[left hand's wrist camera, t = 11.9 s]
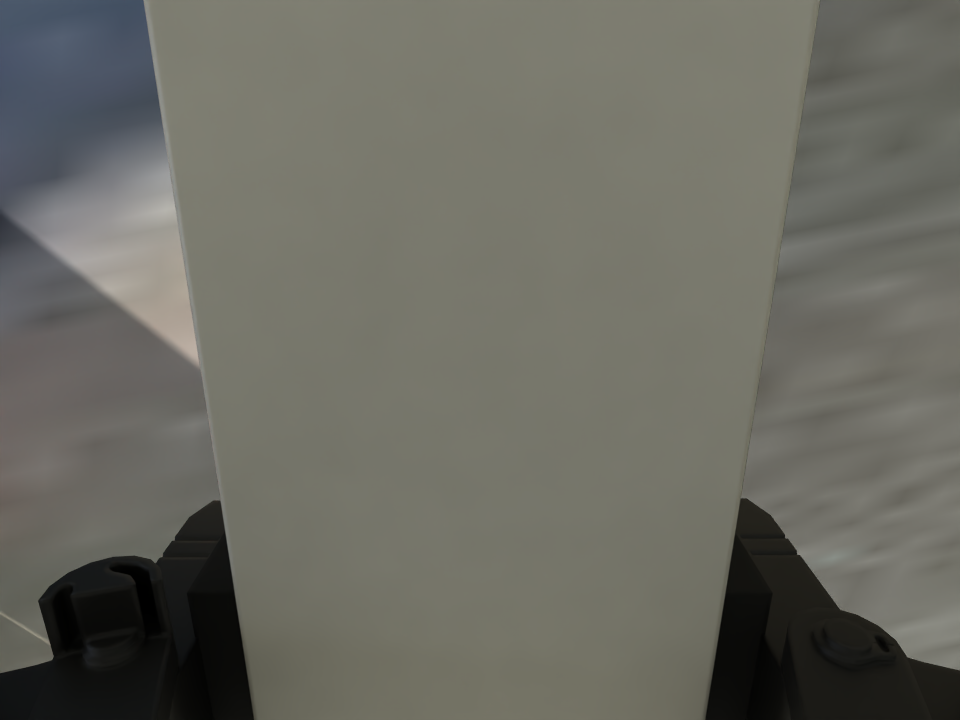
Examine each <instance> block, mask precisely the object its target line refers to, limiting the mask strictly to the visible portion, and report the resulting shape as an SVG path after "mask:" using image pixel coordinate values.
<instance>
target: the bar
mask: <svg viewBox="0 0 960 720" xmlns="http://www.w3.org/2000/svg"><path fill="white" fill-rule="evenodd" d="M144 5H145V12H146V18H147V25H148V31H149V38H150V44H151V51H152V57H153V64H154V70H155V77H156V83H157V90H158V96H159V103H160V109H161V116H162V122H163V129H164V135H165V142H166V148H167V155H168V161H169V168H170V175H171V181H172V188H173V194H174V201H175V207H176V214H177V220H178V227H179V233H180V240H181V246H182V253H183V259H184V266H185V272H186V279H187V285H188V292H189V298H190V305H191V311H192V318H193V324H194V331H195V337H196V344H197V350H198V357H199V363H200V370H201V376H202V383H203V389H204V396H205V402H206V409H207V415H208V422H209V428H210V435H211V441H212V448H213V454H214V461H215V467H216V474H217V480H218V487H219V493H220V500H221V506H222V513H223V519H224V526H225V533H226V539H227V546H228V552H229V559H230V565H231V572H232V578H233V585H234V591H235V598H236V604H237V611H238V617H239V624H240V630H241V637H242V643H243V650H244V656H245V663H246V669H247V676H248V682H249V689H250V695H251V702H252V708H253V715H254V720H705V717H706V711H707V705H708V699H709V692H710V686H711V680H712V674H713V667H714V661H715V655H716V649H717V642H718V636H719V630H720V624H721V617H722V611H723V605H724V599H725V592H726V586H727V580H728V574H729V567H730V561H731V555H732V549H733V542H734V536H735V530H736V524H737V517H738V511H739V505H740V499H741V492H742V486H743V480H744V474H745V467H746V461H747V455H748V449H749V442H750V436H751V430H752V424H753V417H754V411H755V405H756V399H757V392H758V386H759V380H760V374H761V367H762V361H763V355H764V349H765V342H766V336H767V330H768V324H769V317H770V311H771V305H772V299H773V292H774V286H775V280H776V274H777V267H778V261H779V255H780V249H781V242H782V236H783V230H784V224H785V217H786V211H787V205H788V199H789V192H790V186H791V180H792V174H793V167H794V161H795V155H796V149H797V142H798V136H799V130H800V124H801V117H802V111H803V105H804V99H805V92H806V86H807V80H808V74H809V67H810V61H811V55H812V49H813V42H814V36H815V30H816V24H817V17H818V11H819V5H820V0H144Z"/></svg>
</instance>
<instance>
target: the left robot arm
mask: <svg viewBox="0 0 960 720" xmlns="http://www.w3.org/2000/svg"><path fill="white" fill-rule="evenodd" d="M38 602H39V605H40V609H41V613H42V616H43V620H44V623H45V627H46V630H47V634H48V637H49V641H50V644H51V648H52V651H53V655H54V658H53V660H52V661H49V662H45V663H42V664H39V665H35V666H30V667H26V668H22V669H17V670H13V671H9V672H4V673H0V720H254V715H253V708H252V702H251V695H250V689H249V682H248V676H247V669H246V663H245V656H244V650H243V643H242V637H241V630H240V624H239V617H238V611H237V604H236V598H235V591H234V585H233V578H232V572H231V565H230V559H229V552H228V546H227V539H226V533H225V526H224V519H223V513H222V506H221V501H212V502H211V503H209V504H208V505H206V506H205V507H204V508H202V509H201V510H199V511H198V512H196V513H195V514H193V515H192V516H191V517H189V519H188V520H187V521H186V523H185V524H184V525H183V527H182V528H181V529H180V531H179V532H178V534H177V535H176V536H175V541H172V542H171V543H170V545H169V546H168V547H167V549H166V550H165V551H164V553H163V557H160V558H159V560H158V561H157V562H156V564H155V563H154V562H153V561H152V560H151V559H146V558H142V557H138V556H121V557H111V558H107V559H103V560H99V561H96V562H92V563H89V564H87V565H85V566H82V567H80V568H78V569H76V570H74V571H71V572H69V573H67V574H66V575H65V576H63V577H62V578H60V579H59V580H58V581H56V582H55V583H53V584H52V585H51V586H49V588H48V589H47V590H46V592H45V593H44V594H43V595H42V597H41V598H40V599H39V600H38ZM705 720H960V671H959V670H955V669H950V668H946V667H942V666H937V665H933V664H929V663H924V662H921V661H917V660H914V659H911V658H907V656H906V655H905V653H904V652H903V650H902V649H901V647H900V646H899V644H898V643H897V641H896V640H895V639H894V638H893V637H891V636H890V635H889V634H888V633H886V632H885V631H884V630H883V629H882V628H880V627H879V626H878V625H876V624H874V623H872V622H870V621H868V620H866V619H864V618H862V617H860V616H858V615H856V614H852V613H849V612H845V611H842V610H840V609H839V608H838V606H837V605H836V604H835V602H834V601H833V599H832V598H831V597H830V595H829V594H828V593H827V591H826V590H825V589H824V587H823V586H822V585H821V583H820V582H819V580H818V579H817V578H816V576H815V575H814V574H813V572H812V571H811V570H810V568H809V567H808V565H807V564H806V563H805V561H804V560H803V559H802V557H801V556H800V555H797V551H796V549H795V548H794V546H793V545H792V544H791V542H790V541H789V540H788V539H785V534H784V533H783V531H782V530H781V529H780V527H779V526H778V525H777V523H776V522H775V521H774V519H773V518H772V516H771V515H770V514H768V513H767V512H765V511H764V510H762V509H761V508H759V507H758V506H757V505H755V504H754V503H752V502H751V501H749V500H748V499H740V505H739V511H738V517H737V524H736V530H735V536H734V542H733V549H732V555H731V561H730V567H729V574H728V580H727V586H726V592H725V599H724V605H723V611H722V617H721V624H720V630H719V636H718V642H717V649H716V655H715V661H714V667H713V674H712V680H711V686H710V692H709V699H708V705H707V711H706V717H705Z"/></svg>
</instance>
